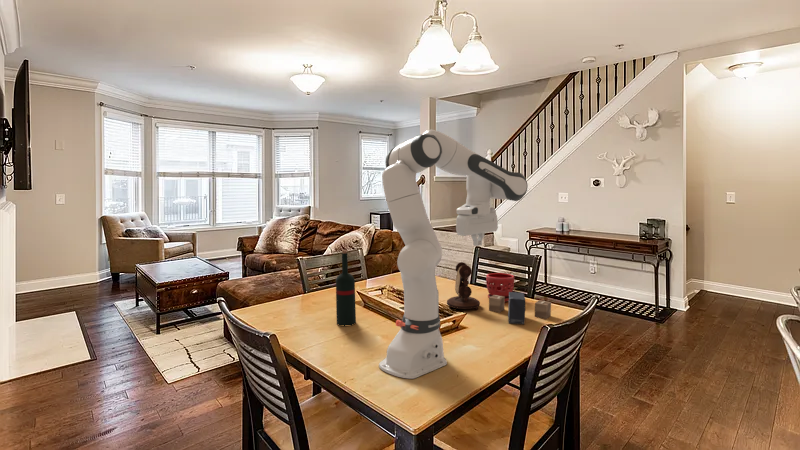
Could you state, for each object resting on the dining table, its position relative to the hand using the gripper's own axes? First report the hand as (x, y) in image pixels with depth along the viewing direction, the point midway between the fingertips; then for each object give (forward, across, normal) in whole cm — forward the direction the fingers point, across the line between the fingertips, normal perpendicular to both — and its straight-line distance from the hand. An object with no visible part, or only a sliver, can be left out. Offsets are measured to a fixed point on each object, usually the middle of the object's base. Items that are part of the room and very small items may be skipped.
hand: (477, 245), depth 155 cm
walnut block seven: (+33, -26, -10) cm, 44 cm away
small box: (+33, -22, +3) cm, 40 cm away
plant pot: (+33, -41, -19) cm, 56 cm away
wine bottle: (+33, +32, -42) cm, 62 cm away
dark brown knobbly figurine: (+33, -19, -23) cm, 45 cm away
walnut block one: (+33, -34, +8) cm, 48 cm away
